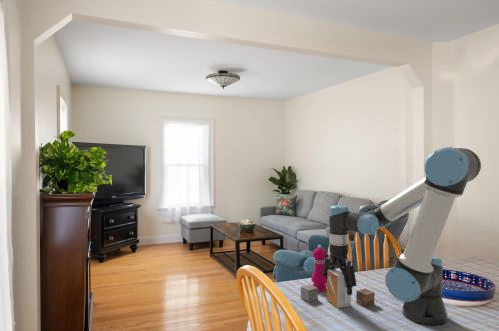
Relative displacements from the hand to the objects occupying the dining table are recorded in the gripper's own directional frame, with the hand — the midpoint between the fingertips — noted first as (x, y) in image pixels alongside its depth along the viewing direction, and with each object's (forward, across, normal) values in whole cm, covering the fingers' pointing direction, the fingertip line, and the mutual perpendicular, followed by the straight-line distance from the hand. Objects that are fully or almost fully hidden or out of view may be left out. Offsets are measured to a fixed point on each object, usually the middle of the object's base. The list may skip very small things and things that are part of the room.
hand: (338, 298), depth 148 cm
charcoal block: (+2, +10, +7) cm, 12 cm away
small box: (+2, 0, 0) cm, 2 cm away
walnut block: (+2, -6, -9) cm, 11 cm away
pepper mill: (+2, +16, -5) cm, 17 cm away
